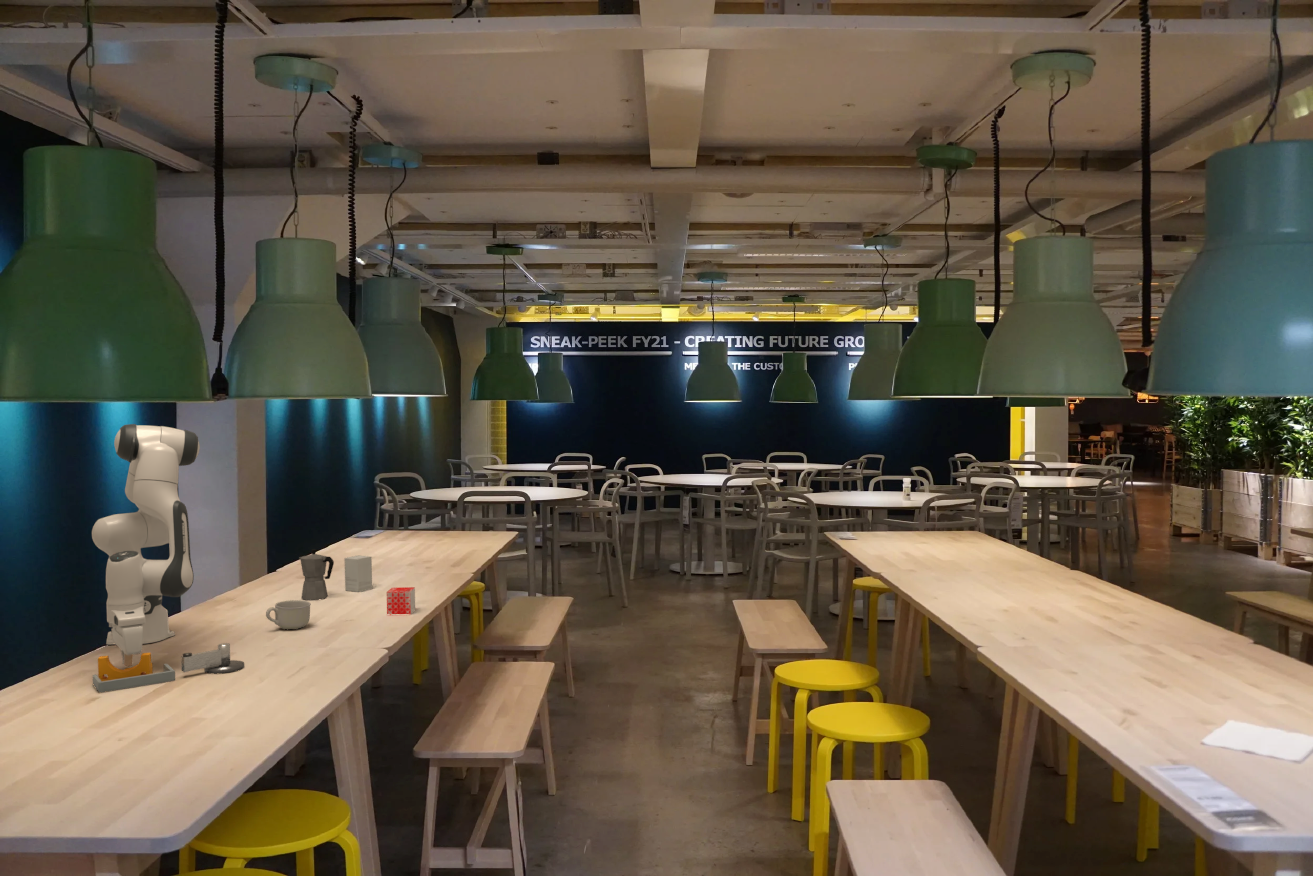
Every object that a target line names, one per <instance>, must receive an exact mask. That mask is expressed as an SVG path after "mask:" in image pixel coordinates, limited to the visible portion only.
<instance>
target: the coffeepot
mask: <svg viewBox="0 0 1313 876" xmlns="http://www.w3.org/2000/svg"><path fill="white" fill-rule="evenodd" d="M316 552H317V549H315V548H312V549H311V554H308V555H303V556H299V557H298V559H299V561H300V565H301V571H302V576H303V577H304V581H303V585H302V592H301V600H302V601H320V600H319V599H321V600H325V599H327V598H328V597H329V595H328V589H327V585H326V584H327V583H326V580H329V579H331V575H332V572H333V568H334V563H335V561H334V559H333V558H332V557H331V556H327V555H321V554H317V553H316ZM327 562H328V568H327ZM326 569H327V572H326ZM326 574H327V575H326ZM325 575H326V576H325Z"/></svg>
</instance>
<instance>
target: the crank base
mask: <svg viewBox="0 0 1313 876" xmlns="http://www.w3.org/2000/svg"><path fill="white" fill-rule="evenodd" d="M244 668H245V662H244V661H242V660H236V659H232V660H231V659H230V665H226V666H219V665H218V666H213V667H208V668H203V669H204V672H205V673H206V672H207V674H211V673H214V675H218V674H217V673H222V674H230V673H235V672H239V671H241V670H243V669H244ZM238 670H239V671H238Z"/></svg>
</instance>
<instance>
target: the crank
mask: <svg viewBox="0 0 1313 876" xmlns="http://www.w3.org/2000/svg"><path fill="white" fill-rule="evenodd" d="M180 659H181V660H180V661H181V665H180V666H181V672H184V673H187V672H192V671H196V670H203V669H204V668H208V667H213V666H218V665H219V666H226V665H230V660H231V643H227V642H226V643H225V642H224V643H218V644H217V649H213V650H207V651H203V652H198V653H192V652H184V653H182V656H181V657H180Z"/></svg>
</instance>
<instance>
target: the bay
mask: <svg viewBox="0 0 1313 876" xmlns="http://www.w3.org/2000/svg"><path fill="white" fill-rule="evenodd" d="M174 681H176V670H175V669H173V668H172V667H171V666H170V664H168V663H163V671H160V672H153V674H147V675H140V676H134V677H128V678H121V679H115V680H108V681H101V680H100V679H99V677H98V675H97V674H92V685H93V684H94V685H93V686H95V687H96V688H95V687H94V688H95V689H96V691H97V690H98V691H99V692H101V693H106V692H105V691H108V692H112V691H113V692H114V691H118V690H125V689H130V688H137V687H138V688H139V687H143V686H150V685H156V684H162V683H168V682H174ZM98 691H97V692H98ZM99 692H98V693H99Z"/></svg>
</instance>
